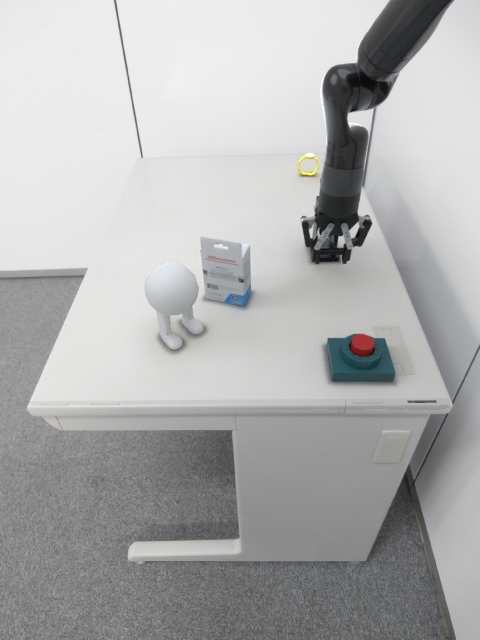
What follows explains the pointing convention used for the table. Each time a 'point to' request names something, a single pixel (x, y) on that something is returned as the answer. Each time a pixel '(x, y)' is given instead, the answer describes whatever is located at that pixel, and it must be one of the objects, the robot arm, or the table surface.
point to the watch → (308, 156)
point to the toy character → (173, 299)
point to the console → (359, 361)
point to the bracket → (325, 244)
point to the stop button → (362, 345)
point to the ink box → (226, 270)
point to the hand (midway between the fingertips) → (330, 261)
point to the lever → (332, 248)
